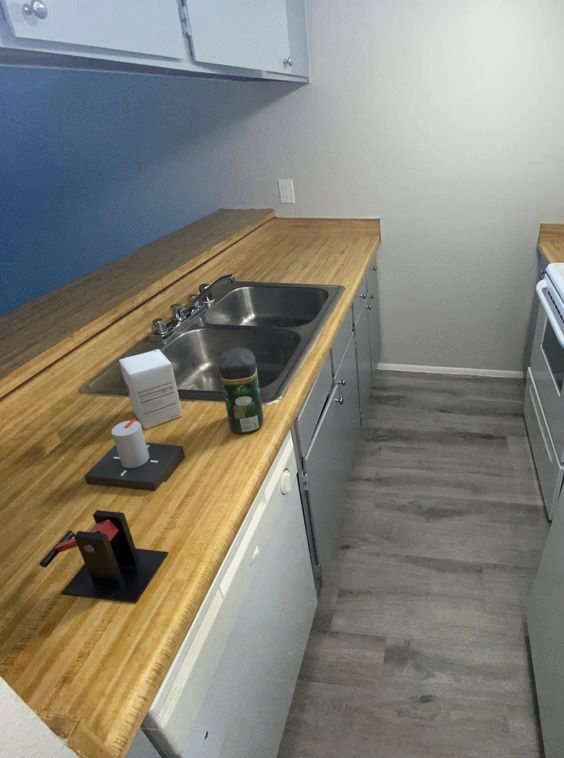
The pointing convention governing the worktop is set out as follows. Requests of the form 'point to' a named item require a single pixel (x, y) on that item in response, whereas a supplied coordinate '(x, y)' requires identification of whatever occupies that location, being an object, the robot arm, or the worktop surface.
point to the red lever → (69, 543)
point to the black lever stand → (113, 563)
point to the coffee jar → (241, 390)
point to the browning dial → (130, 444)
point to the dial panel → (137, 468)
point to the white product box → (151, 388)
